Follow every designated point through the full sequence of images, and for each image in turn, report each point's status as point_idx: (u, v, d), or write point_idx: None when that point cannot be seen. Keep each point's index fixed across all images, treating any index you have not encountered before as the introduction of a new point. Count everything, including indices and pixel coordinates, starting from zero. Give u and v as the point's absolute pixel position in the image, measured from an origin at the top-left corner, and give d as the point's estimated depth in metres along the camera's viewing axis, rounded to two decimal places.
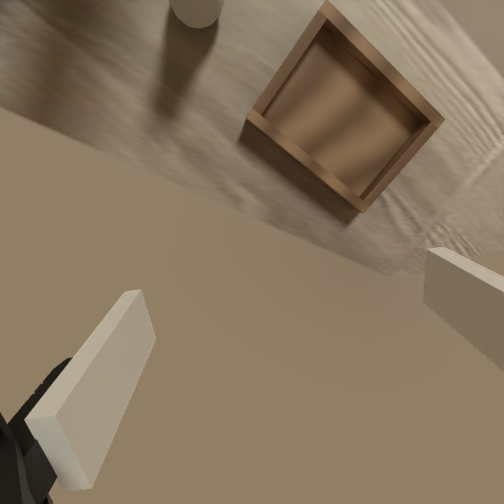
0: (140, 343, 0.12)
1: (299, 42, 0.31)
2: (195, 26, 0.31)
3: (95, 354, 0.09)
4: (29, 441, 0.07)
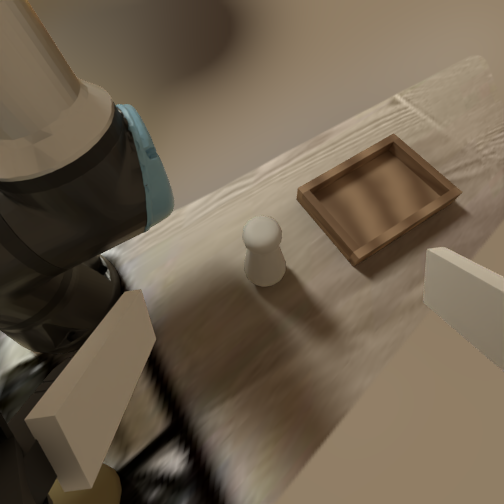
0: (140, 343, 0.12)
1: (317, 208, 0.43)
2: (283, 273, 0.40)
3: (95, 354, 0.09)
4: (29, 441, 0.07)
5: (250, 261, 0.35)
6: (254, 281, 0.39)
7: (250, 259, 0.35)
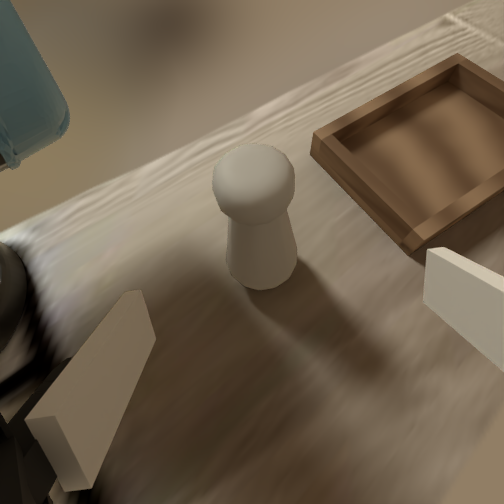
0: (140, 343, 0.12)
1: (347, 161, 0.26)
2: (293, 267, 0.23)
3: (95, 354, 0.09)
4: (29, 441, 0.07)
5: (233, 243, 0.19)
6: (243, 281, 0.22)
7: (233, 239, 0.18)
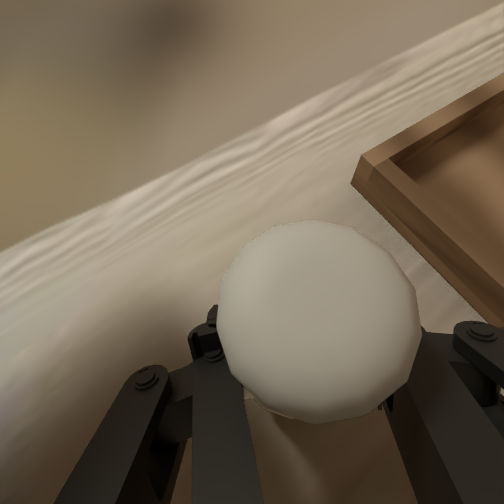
0: None
1: (415, 200, 0.18)
2: None
3: None
4: None
5: None
6: (265, 407, 0.14)
7: None
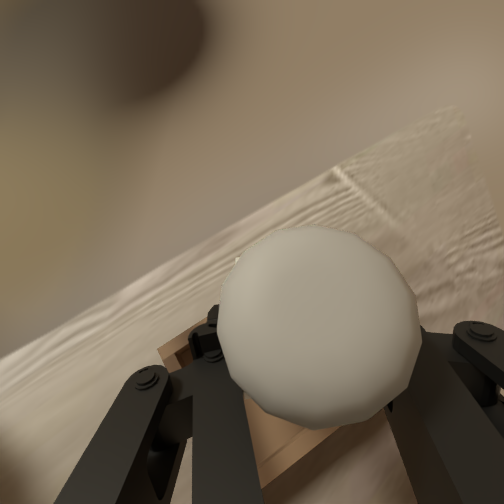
0: None
1: None
2: None
3: None
4: None
5: None
6: None
7: None
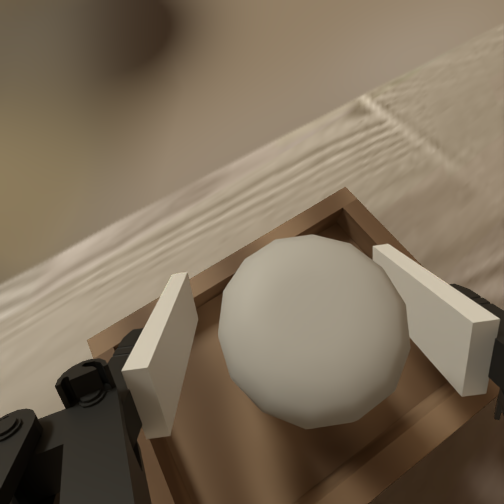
0: (189, 320, 0.13)
1: None
2: None
3: (165, 322, 0.10)
4: (123, 390, 0.08)
5: None
6: None
7: None
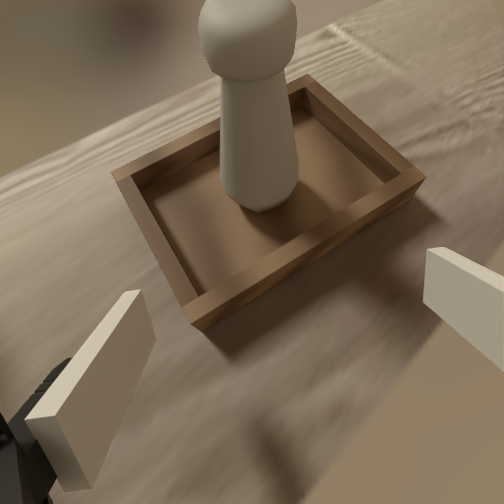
0: (140, 343, 0.12)
1: (135, 211, 0.21)
2: (294, 184, 0.21)
3: (95, 354, 0.09)
4: (29, 441, 0.07)
5: (226, 133, 0.17)
6: (237, 194, 0.20)
7: (225, 126, 0.16)
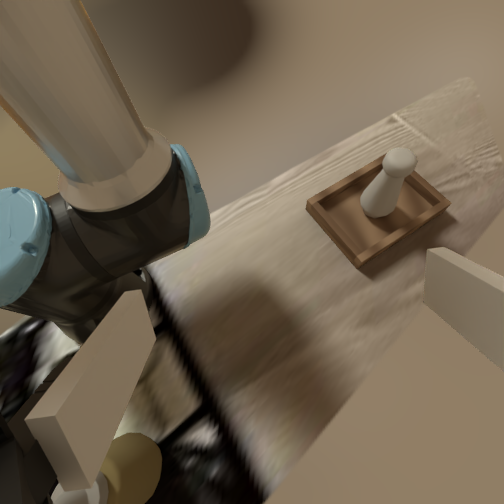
0: (140, 343, 0.12)
1: (325, 218, 0.49)
2: (395, 206, 0.48)
3: (95, 354, 0.09)
4: (29, 441, 0.07)
5: (378, 189, 0.44)
6: (373, 211, 0.48)
7: (380, 187, 0.44)
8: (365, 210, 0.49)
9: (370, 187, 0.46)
